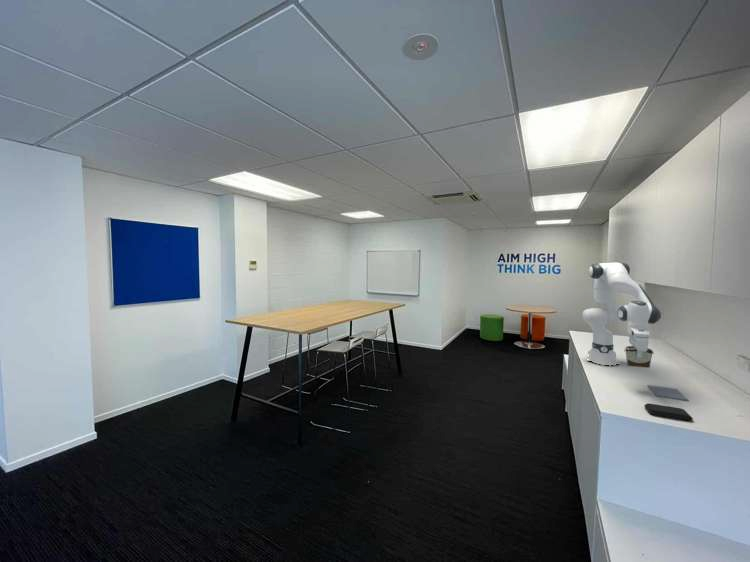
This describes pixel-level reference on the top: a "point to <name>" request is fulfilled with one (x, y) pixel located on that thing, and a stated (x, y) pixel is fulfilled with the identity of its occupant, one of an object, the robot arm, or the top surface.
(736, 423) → the top surface
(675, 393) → the slate mat
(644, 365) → the food container
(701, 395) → the top surface
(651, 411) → the carrying case or bag
